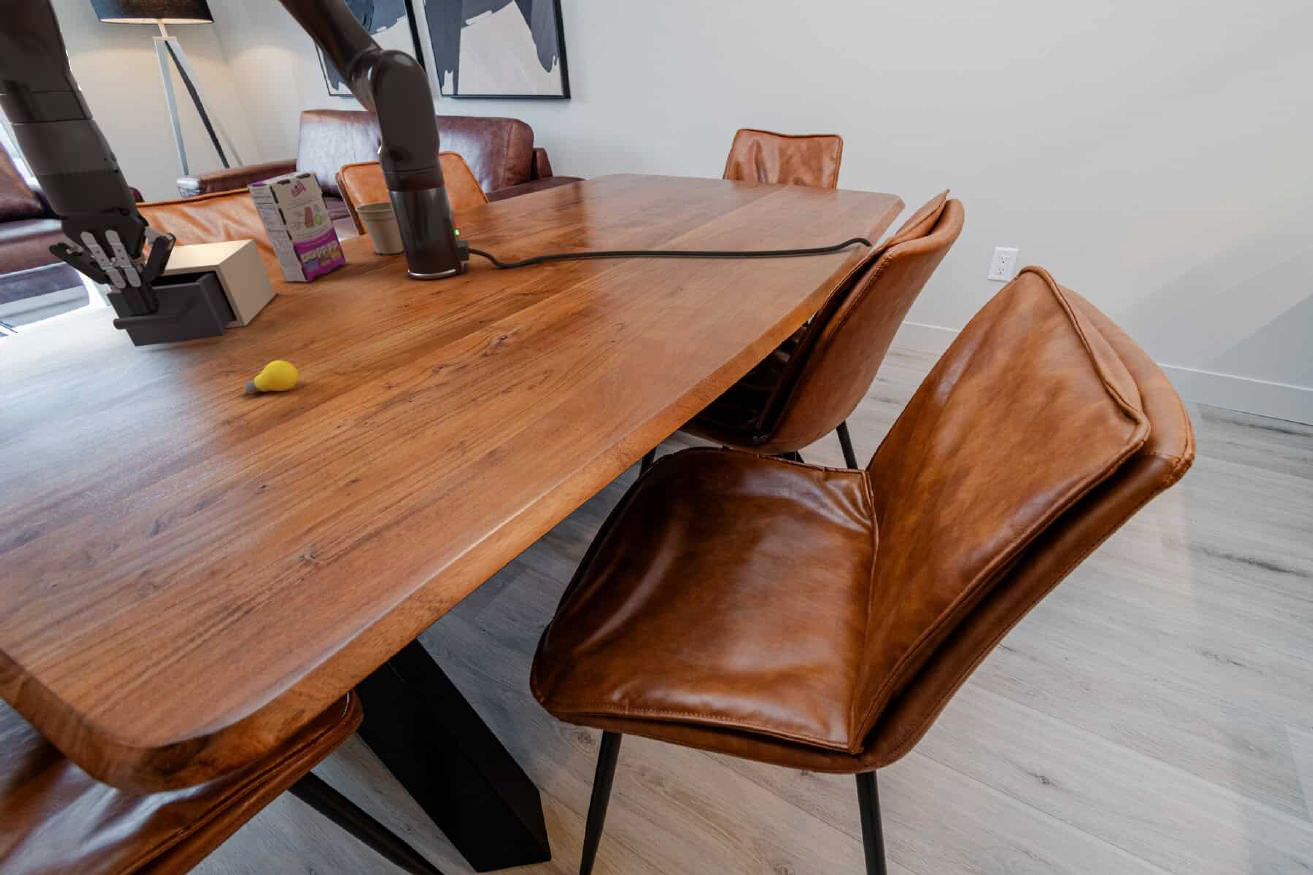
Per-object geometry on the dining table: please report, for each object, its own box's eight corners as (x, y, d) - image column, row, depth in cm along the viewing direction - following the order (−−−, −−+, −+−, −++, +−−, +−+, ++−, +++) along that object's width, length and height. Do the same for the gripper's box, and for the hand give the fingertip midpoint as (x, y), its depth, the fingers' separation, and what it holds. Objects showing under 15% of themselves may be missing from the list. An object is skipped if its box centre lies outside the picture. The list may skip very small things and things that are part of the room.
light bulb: (304, 389, 69) (282, 369, 66) (256, 409, 69) (232, 390, 66) (306, 370, 71) (284, 349, 68) (259, 389, 71) (236, 370, 68)
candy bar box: (324, 264, 115) (292, 171, 106) (347, 264, 114) (317, 171, 105) (283, 282, 106) (244, 183, 97) (307, 283, 105) (270, 183, 96)
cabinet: (245, 325, 88) (218, 264, 83) (154, 336, 86) (121, 274, 81) (275, 294, 100) (253, 238, 95) (196, 303, 98) (169, 247, 93)
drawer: (209, 350, 78) (183, 296, 74) (115, 361, 77) (83, 307, 73) (255, 303, 94) (235, 257, 90) (178, 312, 92) (155, 265, 88)
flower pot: (406, 242, 126) (395, 199, 122) (425, 249, 120) (414, 204, 116) (361, 252, 121) (347, 207, 116) (379, 260, 115) (365, 213, 110)
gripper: (-17, 175, 63) (72, 330, 72) (123, 166, 65) (193, 318, 74) (30, 166, 69) (107, 310, 78) (157, 159, 72) (217, 299, 81)
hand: (149, 313), depth 76 cm, fingers closed
